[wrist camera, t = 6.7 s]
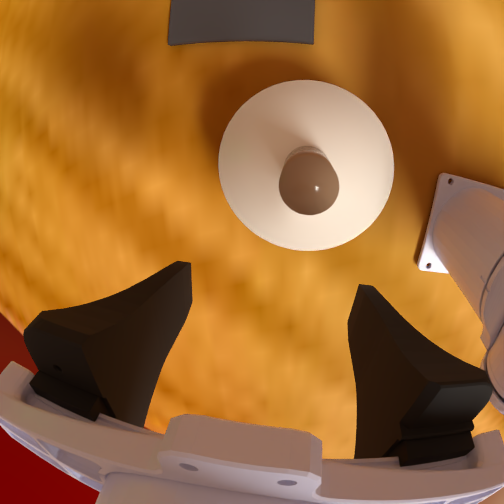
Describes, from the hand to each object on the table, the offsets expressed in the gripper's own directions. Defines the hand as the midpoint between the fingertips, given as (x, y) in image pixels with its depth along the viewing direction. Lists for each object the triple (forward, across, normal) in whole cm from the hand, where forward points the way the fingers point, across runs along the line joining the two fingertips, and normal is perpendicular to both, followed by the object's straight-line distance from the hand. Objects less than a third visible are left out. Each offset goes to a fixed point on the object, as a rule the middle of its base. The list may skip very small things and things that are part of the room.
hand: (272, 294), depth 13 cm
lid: (+7, -1, -4) cm, 8 cm away
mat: (+10, +4, -18) cm, 21 cm away
